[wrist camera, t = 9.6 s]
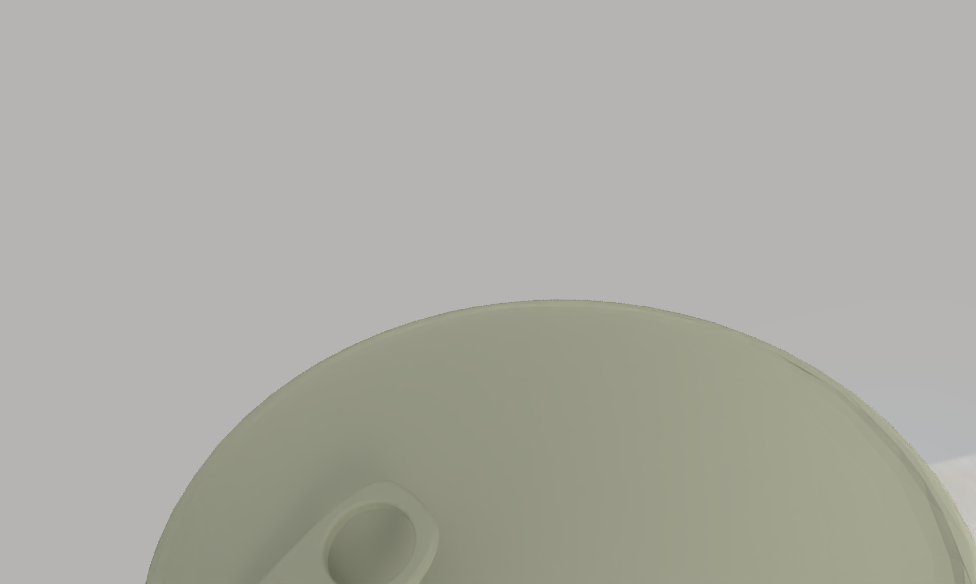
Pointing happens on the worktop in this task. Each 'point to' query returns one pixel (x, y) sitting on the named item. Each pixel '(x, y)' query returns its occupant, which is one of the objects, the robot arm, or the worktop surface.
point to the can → (564, 465)
